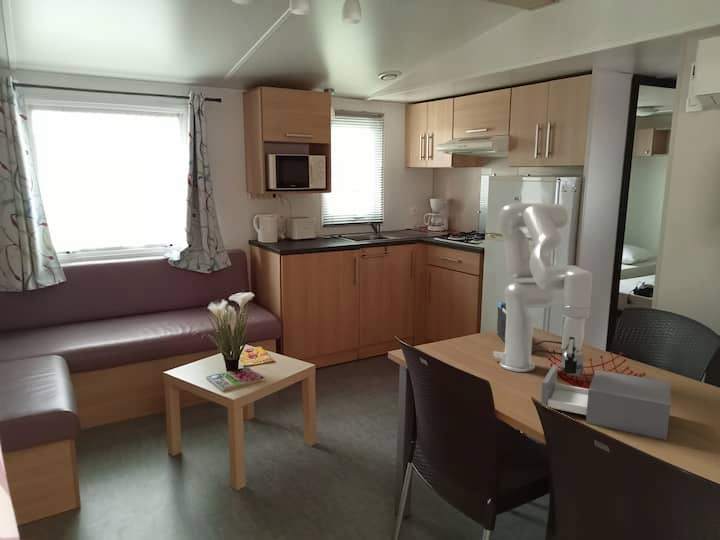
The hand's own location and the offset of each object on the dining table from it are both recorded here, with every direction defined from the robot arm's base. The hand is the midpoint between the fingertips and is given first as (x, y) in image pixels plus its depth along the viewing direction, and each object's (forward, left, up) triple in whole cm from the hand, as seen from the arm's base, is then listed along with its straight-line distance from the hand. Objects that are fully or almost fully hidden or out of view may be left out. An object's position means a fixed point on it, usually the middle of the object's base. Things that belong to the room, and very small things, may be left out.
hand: (571, 368), depth 158 cm
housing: (+16, 0, -12) cm, 20 cm away
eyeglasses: (-15, +50, -13) cm, 54 cm away
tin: (0, 0, -1) cm, 1 cm away
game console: (-32, +56, -12) cm, 65 cm away
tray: (+3, 0, -11) cm, 11 cm away
